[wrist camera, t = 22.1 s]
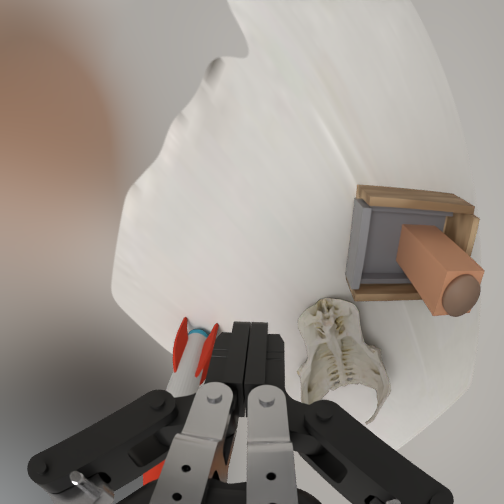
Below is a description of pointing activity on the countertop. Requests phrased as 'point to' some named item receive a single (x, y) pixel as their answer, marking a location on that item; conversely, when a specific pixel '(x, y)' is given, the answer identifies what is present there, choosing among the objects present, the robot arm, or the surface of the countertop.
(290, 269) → the countertop surface
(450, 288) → the tin
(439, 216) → the tray
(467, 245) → the dock
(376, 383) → the anatomical model
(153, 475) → the toy rocket
